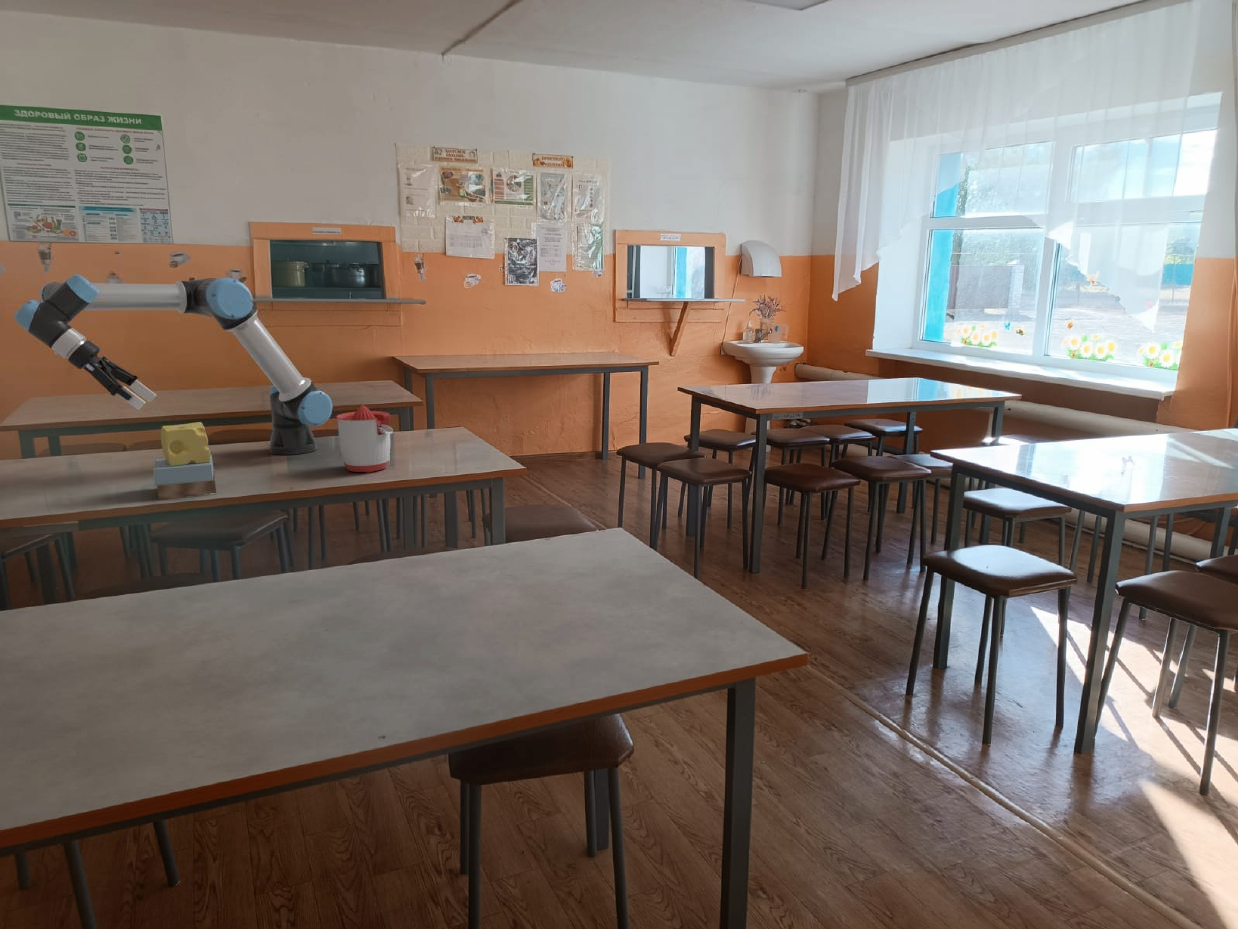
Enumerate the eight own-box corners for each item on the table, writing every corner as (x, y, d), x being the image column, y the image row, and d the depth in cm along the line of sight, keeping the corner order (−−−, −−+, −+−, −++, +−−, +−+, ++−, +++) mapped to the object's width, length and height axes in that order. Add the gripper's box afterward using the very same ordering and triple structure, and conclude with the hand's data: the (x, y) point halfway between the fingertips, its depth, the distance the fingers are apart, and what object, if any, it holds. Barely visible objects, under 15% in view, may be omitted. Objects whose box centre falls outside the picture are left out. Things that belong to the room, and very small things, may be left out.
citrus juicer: (377, 477, 252) (373, 410, 248) (329, 472, 258) (324, 407, 253) (407, 466, 266) (404, 403, 262) (361, 461, 272) (357, 400, 268)
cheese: (211, 462, 233) (207, 426, 231) (167, 467, 227) (163, 430, 225) (205, 455, 242) (201, 421, 240) (163, 460, 236) (158, 425, 234)
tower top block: (213, 470, 244) (211, 454, 243) (212, 480, 232) (211, 464, 231) (158, 474, 239) (156, 459, 238) (155, 485, 226) (152, 469, 225)
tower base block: (215, 485, 245) (214, 470, 244) (216, 496, 233) (214, 480, 232) (161, 490, 239) (159, 475, 238) (159, 502, 227) (157, 486, 226)
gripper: (81, 355, 236) (148, 405, 243) (51, 365, 212) (127, 420, 220) (100, 335, 236) (166, 386, 244) (72, 343, 213) (147, 399, 220)
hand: (148, 402), depth 232 cm, fingers open, 13 cm apart
